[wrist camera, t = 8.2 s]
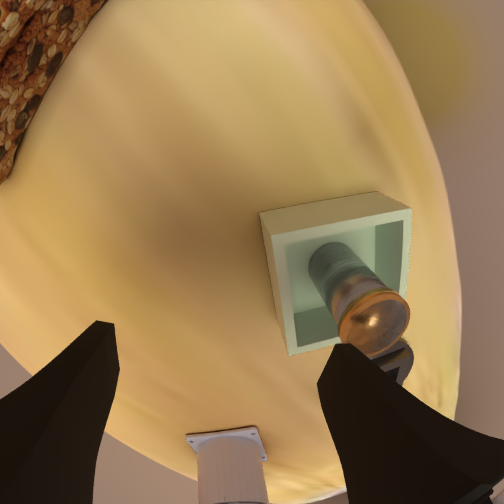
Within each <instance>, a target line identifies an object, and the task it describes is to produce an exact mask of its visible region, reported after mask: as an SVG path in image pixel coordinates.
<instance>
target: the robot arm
mask: <svg viewBox="0 0 504 504" xmlns="http://www.w3.org/2000/svg"><path fill="white" fill-rule="evenodd" d="M119 371H120V367H119V360H118V353H117V345H116V336H115V327H114V324H113V323H108V322H102V321H97V320H96V321H95V322H94V323H93V324H92V325H90V326H89V327H88V328H87V329H86V330H85V331H84V332H83V333H82V334H81V335H80V336H78V337H77V338H76V339H75V340H74V341H73V342H72V343H71V344H70V345H69V346H68V347H67V348H65V349H64V350H63V351H62V352H61V353H60V354H59V355H58V356H57V357H55V358H54V359H53V360H52V361H51V362H50V363H49V364H47V365H46V366H45V367H44V368H42V369H41V370H40V371H39V372H38V373H36V374H35V375H34V376H33V377H32V378H30V379H29V380H28V381H26V382H25V383H24V384H22V385H21V386H20V387H18V388H17V389H15V390H14V391H12V392H11V393H9V394H8V395H6V396H5V397H3V398H2V399H0V504H92V502H93V486H94V475H95V467H96V460H97V455H98V451H99V446H100V443H101V440H102V436H103V433H104V429H105V426H106V422H107V419H108V416H109V412H110V409H111V406H112V403H113V399H114V396H115V391H116V386H117V381H118V376H119ZM317 387H318V392H319V398H320V402H321V407H322V410H323V413H324V416H325V419H326V422H327V425H328V428H329V430H330V433H331V436H332V439H333V441H334V444H335V447H336V450H337V453H338V455H339V458H340V462H341V465H342V469H343V473H344V478H345V483H346V488H347V494H348V500H349V504H504V489H503V490H501V491H500V492H499V493H498V494H497V495H495V496H494V497H492V498H491V499H490V497H489V496H490V495H491V494H493V489H492V488H493V487H494V486H495V485H496V484H498V483H499V482H500V481H501V480H502V479H503V478H504V440H502V439H498V438H494V437H490V436H487V435H484V434H481V433H479V432H476V431H474V430H471V429H469V428H467V427H465V426H463V425H460V424H458V423H456V422H454V421H452V420H451V419H449V418H447V417H445V416H443V415H442V414H440V413H438V412H437V411H435V410H434V409H432V408H431V407H429V406H427V405H426V404H425V403H423V402H422V401H420V400H419V399H418V398H416V397H415V396H414V395H412V394H411V393H410V392H408V391H407V390H406V389H405V388H403V387H402V386H401V385H400V384H398V383H397V382H396V381H395V380H394V379H392V378H391V377H390V376H389V375H388V374H387V373H385V372H384V371H383V370H382V369H381V368H380V367H378V366H377V365H376V364H375V363H374V362H373V361H372V360H370V359H369V358H368V357H367V356H366V355H365V354H364V353H362V352H361V351H360V350H359V349H357V348H356V347H355V346H354V345H352V344H351V343H336V344H335V346H334V348H333V351H332V353H331V355H330V357H329V359H328V361H327V364H326V366H325V368H324V370H323V372H322V374H321V376H320V378H319V380H318V382H317ZM185 440H186V441H187V442H188V444H189V445H190V446H191V447H192V449H193V450H194V451H195V453H196V454H197V461H198V498H199V504H269V500H268V495H267V489H266V483H265V478H264V472H263V466H262V462H265V461H267V460H268V457H267V454H266V452H265V449H264V446H263V443H262V441H261V438H260V435H259V432H258V429H257V428H256V427H248V428H242V429H236V430H229V431H222V432H213V433H205V434H194V435H187V436H185ZM271 504H272V503H271Z"/></svg>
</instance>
